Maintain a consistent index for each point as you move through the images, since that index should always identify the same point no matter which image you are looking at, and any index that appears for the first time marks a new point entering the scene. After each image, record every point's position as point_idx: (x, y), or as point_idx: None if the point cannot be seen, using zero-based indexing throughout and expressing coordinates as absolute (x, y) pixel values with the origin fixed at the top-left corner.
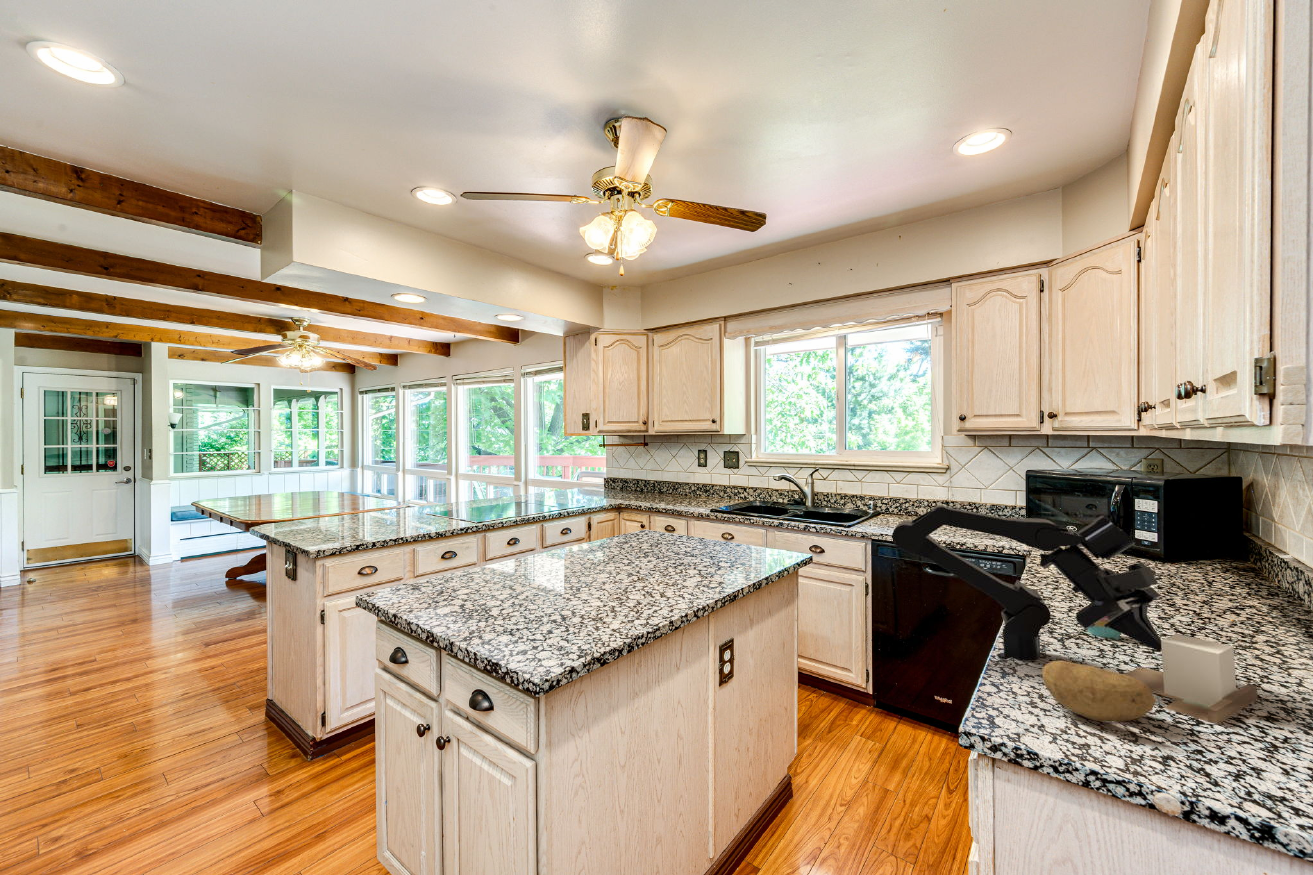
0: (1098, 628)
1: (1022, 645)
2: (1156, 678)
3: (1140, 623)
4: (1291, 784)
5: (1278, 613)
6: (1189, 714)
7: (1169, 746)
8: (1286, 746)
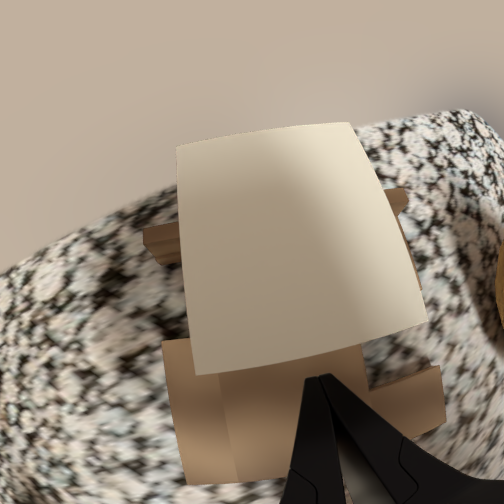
0: None
1: None
2: (245, 423)
3: (432, 471)
4: (422, 121)
5: None
6: None
7: (488, 215)
8: None
